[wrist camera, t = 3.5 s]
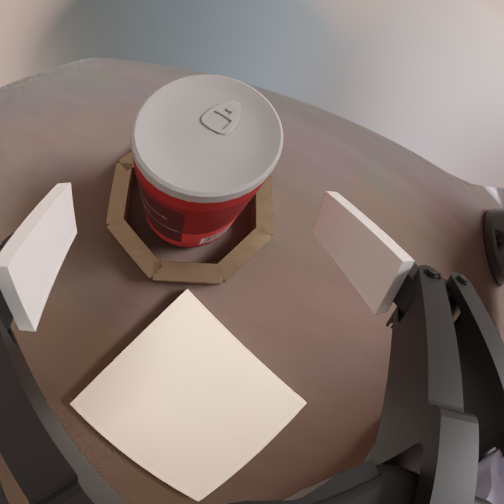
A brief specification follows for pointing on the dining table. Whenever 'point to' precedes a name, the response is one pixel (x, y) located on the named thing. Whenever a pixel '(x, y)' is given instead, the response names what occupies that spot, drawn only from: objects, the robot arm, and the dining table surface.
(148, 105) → the canned food
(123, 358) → the coaster
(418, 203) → the dining table surface
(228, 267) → the wooden polygonal ring
